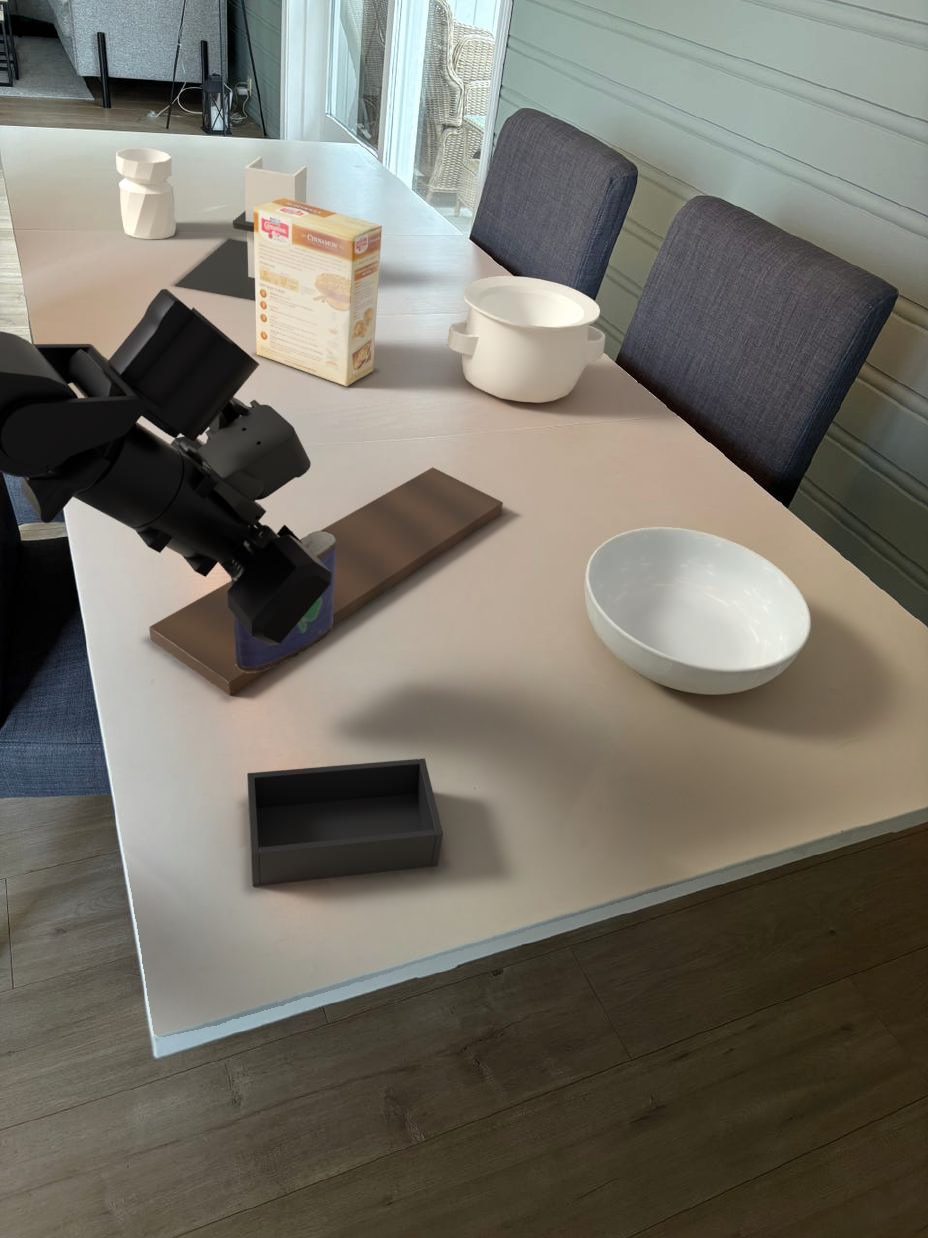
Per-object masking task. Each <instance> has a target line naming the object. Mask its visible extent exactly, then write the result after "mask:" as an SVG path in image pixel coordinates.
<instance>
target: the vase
mask: <svg viewBox="0 0 928 1238" xmlns="http://www.w3.org/2000/svg"><path fill="white" fill-rule="evenodd" d="M115 164H116V171H117V172H118V173H119V174H120V175H121V176H122V177H124V178H123V179H121V181H120V182H118V187H119V192H120V193H119V197H120V198H119V200H120V214H121V220H122V227H123V230H124V233H125V234H126V235H129V236H130V237H133V238H137V239H143V240H164V239H167V238H171V237H173V236H174V235H175V234H176V229H177V225H176V218H175V193H174V192H175V191H174V186H173V185H172V184H171V183H170V182H169V181H168V179H169V178H170V177H171V176H173V175H172V173H173V172H172V171H173V169H172V167H173V165H172V156H171V155H169V153H167V152H164V151H162V150H159V149H155V148H154V149H153V148H144V147H131V148H130V147H129V148H128V147H127V148H124V149H119V150H116V153H115Z"/></svg>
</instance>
